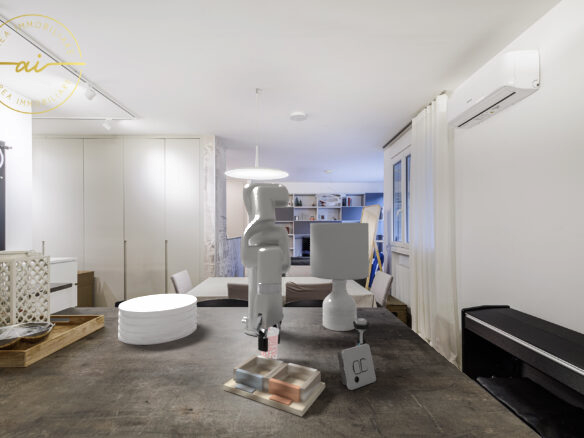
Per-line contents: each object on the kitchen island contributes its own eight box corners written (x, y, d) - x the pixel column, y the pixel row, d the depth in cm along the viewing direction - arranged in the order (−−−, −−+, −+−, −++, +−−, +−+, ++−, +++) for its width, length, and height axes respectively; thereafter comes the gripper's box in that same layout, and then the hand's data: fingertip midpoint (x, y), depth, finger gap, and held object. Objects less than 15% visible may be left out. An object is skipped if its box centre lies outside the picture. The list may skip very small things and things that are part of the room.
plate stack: (206, 334, 112) (206, 304, 113) (121, 351, 97) (122, 316, 97) (186, 316, 135) (186, 291, 136) (115, 327, 120) (116, 299, 120)
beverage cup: (267, 354, 95) (268, 309, 95) (283, 358, 91) (283, 313, 91) (254, 361, 90) (255, 314, 90) (270, 366, 86) (270, 318, 86)
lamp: (360, 316, 135) (359, 223, 136) (377, 335, 111) (376, 222, 112) (307, 316, 134) (307, 223, 135) (313, 336, 110) (313, 222, 111)
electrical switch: (349, 392, 73) (347, 352, 74) (336, 384, 77) (334, 347, 78) (376, 382, 78) (374, 345, 79) (362, 375, 82) (360, 340, 83)
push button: (370, 356, 93) (369, 324, 93) (352, 354, 94) (352, 323, 95) (369, 347, 100) (369, 318, 100) (353, 346, 101) (353, 316, 101)
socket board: (223, 389, 74) (223, 372, 74) (253, 367, 85) (254, 353, 85) (302, 416, 63) (302, 396, 63) (325, 387, 75) (325, 370, 75)
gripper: (274, 282, 100) (273, 335, 100) (242, 291, 85) (241, 355, 85) (293, 284, 97) (293, 339, 96) (264, 294, 82) (263, 360, 81)
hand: (269, 346), depth 90 cm, fingers closed on beverage cup, 6 cm apart
